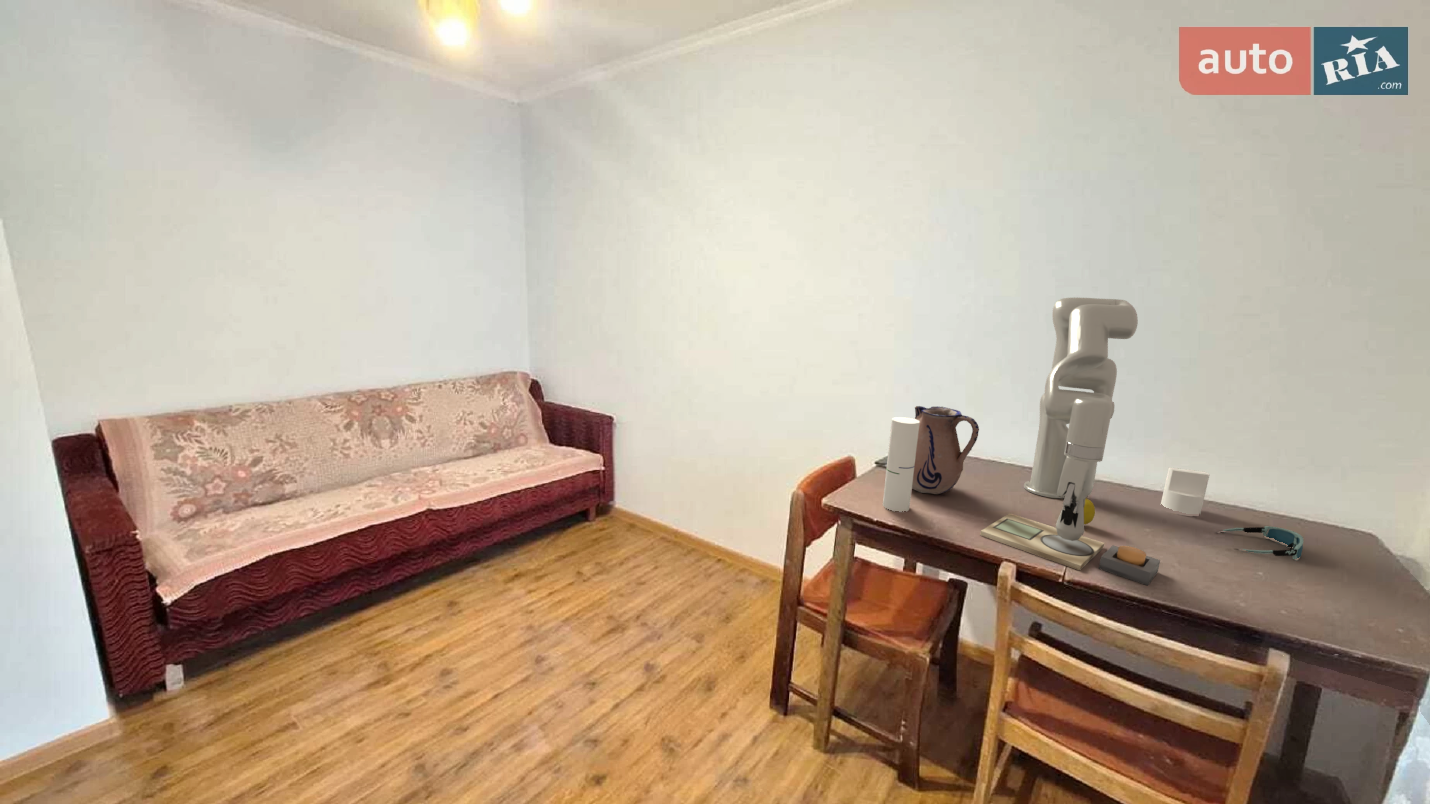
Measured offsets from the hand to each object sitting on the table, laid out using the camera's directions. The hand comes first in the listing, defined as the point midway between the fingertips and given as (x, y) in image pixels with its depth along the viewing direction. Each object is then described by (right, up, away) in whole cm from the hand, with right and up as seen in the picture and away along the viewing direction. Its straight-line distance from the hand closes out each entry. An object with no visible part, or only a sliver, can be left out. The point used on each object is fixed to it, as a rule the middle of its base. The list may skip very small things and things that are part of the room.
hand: (1070, 524), depth 133 cm
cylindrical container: (-34, 0, +24) cm, 41 cm away
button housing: (+8, -9, -8) cm, 14 cm away
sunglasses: (+52, -8, +8) cm, 53 cm away
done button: (+8, -6, -8) cm, 13 cm away
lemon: (+12, -4, +16) cm, 20 cm away
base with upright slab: (+50, -2, +29) cm, 58 cm away
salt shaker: (0, -3, +1) cm, 4 cm away
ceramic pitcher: (-18, +2, +37) cm, 42 cm away
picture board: (-4, -5, +5) cm, 9 cm away
